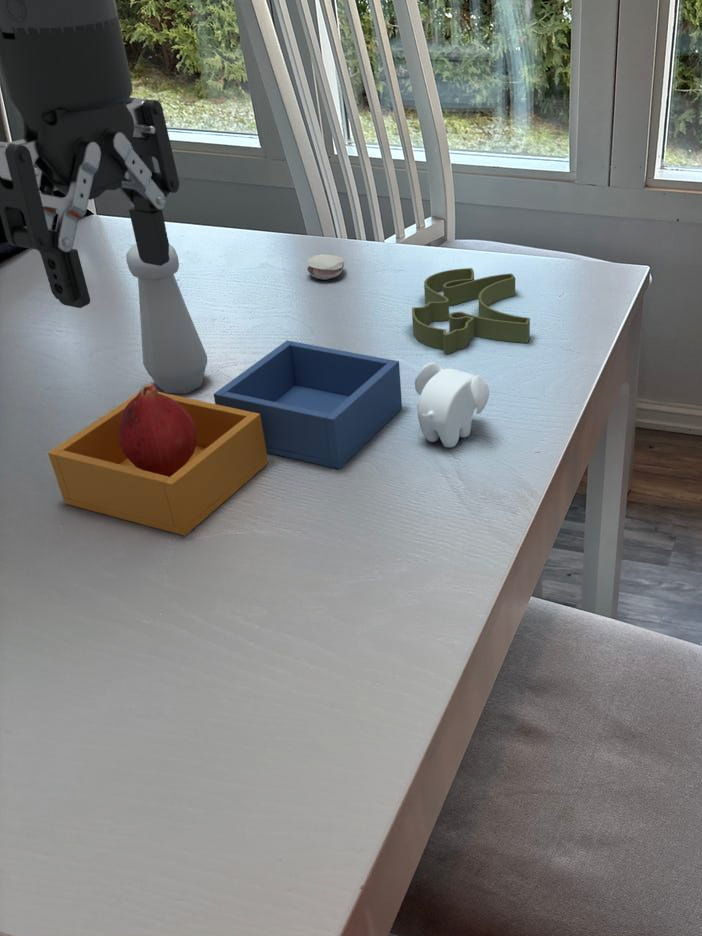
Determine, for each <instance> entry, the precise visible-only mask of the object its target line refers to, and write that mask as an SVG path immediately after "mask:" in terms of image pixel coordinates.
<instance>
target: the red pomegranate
mask: <svg viewBox="0 0 702 936" xmlns="http://www.w3.org/2000/svg"><path fill="white" fill-rule="evenodd" d="M138 392H139V394H138V395H137V396H136V397H135V398H134V399H133V400H131V401H130V402H129V403H128V405H127V406H126V407H125V409H124V411H123V413H122V415H121V418H120V424H119V432H118V436H119V444H120V446H121V448H122V451H123V453H124V454H125V455H126V457H127V458H128V459H129V460H130V461H131V462H132V463H133V464H134V465H135V466H136V467H137V468H139V469H142V470H144V471H148V472H152V473H156V474H160V475H164V476H168V477H170V476H172V475H173V474H174V473H175V472H177V471H178V470H179V469H180V468H181V467H182V466H184V465H185V464H186V462H187V461H188V460H189V459H190V458H191V456H192V455H193V453H194V451H195V448H196V445H197V436H196V428H195V425H194V422H193V420H192V418H191V417H190V415H189V414H188V412H187V411H186V410H185V409H184V408H183V407H182V406H181V405H180V404H179V403H177V402H176V401H175V400H173V399H171V398H169V397H167V396H164V395H161V394H158V393H157V392H158V388H157V385H155V384H154V383H153V382H151V383H145V384H144V385H143V386H142V388H141V389H140V391H138Z"/></svg>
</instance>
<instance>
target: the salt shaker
mask: <svg viewBox="0 0 702 936" xmlns="http://www.w3.org/2000/svg"><path fill="white" fill-rule="evenodd" d="M178 256H179V255H178V253H177V251H176V249H175V248H174V245H171V244H170V243H169V262H167V263H166V264H164V265H162V266H158V265H152V264H147V263H144V262H143V261H142V260H141V259H140V257H139V253H138V249H137V244H136V243H135V244H134V245H132V246H131V247H130V248H129V249H128V251H127V252H126V255H125V258H126V265H127V268H128V270H129V272H130V273H131V274H132V276H133V277H135V278H137V284H138V285H137V286H138V301H139V317H140V318H139V319H140V334H141V351H142V364H143V367H144V369H145V371H146V373H147V374H148V375H149V376H150V377H151V379H152V380H153V381H154V383H155V384H156V386H157V387H158V388H159V389H160V390H162V391H163V392H164V393H166V394H171V395H174V394H188V393H190V392H192V391H194V390H196V389H199V388H201V387H202V385H203V380H204V375H205V372H206V368H207V365H208V356H207V355H208V354H207V353H206V349H205V348H204V346H203V343H202V341H201V339H200V336H199V333H198V331H197V329H196V326H195V324H194V322H193V319H192V317H191V314H190V312H189V310H188V307H187V304H186V302H185V299H184V297H183V294H182V291H181V290H180V289H181V288H180V286H179V284H178V282H177V279H176V276H175V274H176V273H178V271H179V269H180V261H179V257H178Z"/></svg>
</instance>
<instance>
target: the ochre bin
mask: <svg viewBox="0 0 702 936" xmlns="http://www.w3.org/2000/svg"><path fill="white" fill-rule="evenodd" d="M139 392H140V391H138V392H137V393H135V394H134V395H132V396H131V397H129V398H128V399H126V400H125V401H123V402H122V403H120V404H119V405H117V406H116V407H114V408H112V409H111V410H110V411H108V412H107V413H105V414H104V415H102V416H101V417H99V418H98V419H95V421H93V422H92V423H90V424H89V425H87V426H86V427H84V428H83V429H81V430H80V431H78V432H77V433H75V434H73V435H72V436H71V437H69V438H67V439H66V440H65V441H63V442H62V443H60V444H59V445H57V446H56V447H53V448H52V449H51V450H49V451H48V452H47V455H48V457H49V461H50V465H51V466H52V470H53V473H54V475H55V477H56V482H57V484H58V487H59V489H60V493H61V496H62V499H63V502H64V504H65V505H68V506H69V505H70V506H71V507H72V506H73V507H77V508H80V509H83V510H88V511H92V512H94V513H98V514H102V515H106V516H110V517H113V518H118V519H120V520H125V521H129V522H132V523H136V524H140V525H143V526H147V527H151V528H155V529H158V530H161V531H166V532H168V533H169V532H170V533H172V534H175V535H176V534H177V535H179V536H184V537H185V536H187V535H188V534H189V533H190V532H191V531H193V530H195V528H197V526H199V525H200V523H202V522H203V521H204V520H205V519H206V518H208V517H209V516H210V515H211V514H212V513H213V512H214V511H216V510H217V509H218V508H219V507H220V506H221V505H222V504H224V503H225V502H226V501H227V500H228V499H229V498H230V497H232V495H234V494H235V493H236V492H237V491H239V490H240V489H241V488H242V487H243V486H244V485H245V484H246V483H248V482H249V481H250V480H251V479H252V478H253V477H255V475H257V474H259V472H260V471H261V470H262V469H264V468H265V467H266V466H267V465H268V464H269V457H268V452H267V451H266V445H265V439H264V434H263V428H262V422H261V416H260V414H259V413H254V412H249V411H245V410H240V409H235V408H231V407H226V406H222V405H217V404H215V403H212V402H208V401H203V400H198V399H193V398H188V397H185V396H180V395H175V394H167V393H166V392H161V391H157V393H158V394H161V395H164V396H167V397H169V398H171V399H173V400H175V401H176V402H177V403H179V404H180V405H181V406H182V407H183V408H184V409H185V410H186V411H187V412H188V414H189V415H190V417H191V418H192V420H193V422H194V425H195V428H196V436H197V445H196V448H195V451H194V453H193V455H192V456H191V458H190V459H189V460H188V461H187V462H186V464H185V465H184V466H182V467H181V468H180V469H179V470H178V471H177V472H175V473H174V474H173V475H172V476H170V477H168V476H164V475H160V474H156V473H152V472H148V471H144V470H142V469H139V468H137V467H136V466H135V465H134V464H133V463H132V462H131V461H130V460H129V459H128V458H127V457H126V455H125V454H124V453H123V451H122V448H121V446H120V444H119V436H118V432H119V424H120V418H121V415H122V413H123V411H124V409H125V407H126V406H127V405H128V403H129V402H130V401H131V400H133V399H134V398H135V397H136V396H137V395H138V394H139Z"/></svg>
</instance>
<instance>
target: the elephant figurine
mask: <svg viewBox="0 0 702 936" xmlns="http://www.w3.org/2000/svg"><path fill="white" fill-rule="evenodd" d="M415 376H416V377H415V379H414V388H415V392H416V393H417V394H418V395H419V398H418V402H417V418H418V423H419V426H420V429H421V432H422V435H423V436H424V438H425V439H426V440H427V442H431V443H435V442H437V441H438V440H439V439H440V441H441V443H442V445H443V446H444V447H445V448H454V447H456V446H457V444H458V442H459V439H460V438H468V437H469V436H470V434H471V429H472V421H473V416H474V413H475V414H476V415H479V414H481V413H482V412H483V411H484V409H485V407H486V406H487V404H488V402H489V397H490V391H489V390H490V389H489V386H488V384H487V383H486V380H484V378H482V377H481V375H478V374H473V373H470V372H465V371H462V370H459V369H455V368H442V367H441V366H439V364H438V363H436V362H434V361H431V362H428V363H426V364H425V365H424V366H422V367H421V369H420V370H419V371H418V373H417V374H416V375H415Z"/></svg>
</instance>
